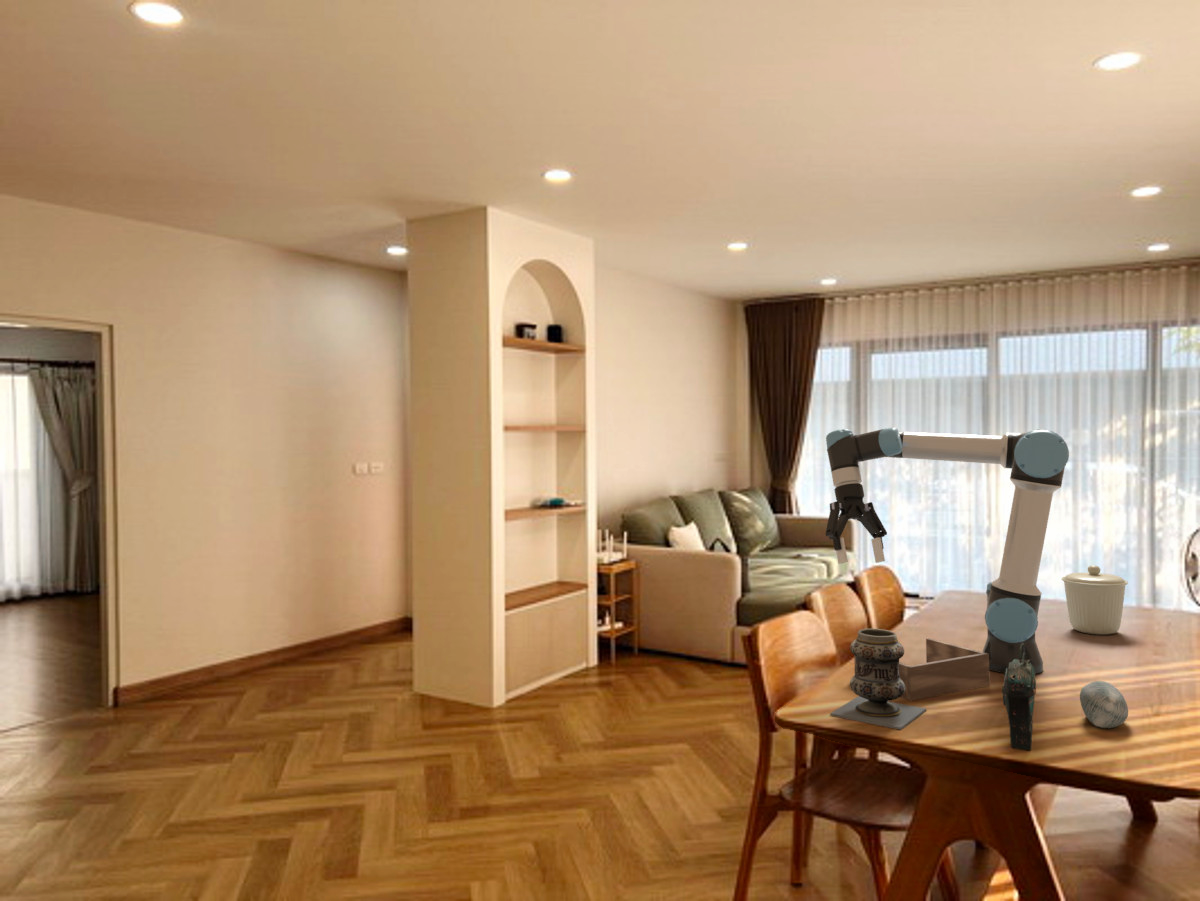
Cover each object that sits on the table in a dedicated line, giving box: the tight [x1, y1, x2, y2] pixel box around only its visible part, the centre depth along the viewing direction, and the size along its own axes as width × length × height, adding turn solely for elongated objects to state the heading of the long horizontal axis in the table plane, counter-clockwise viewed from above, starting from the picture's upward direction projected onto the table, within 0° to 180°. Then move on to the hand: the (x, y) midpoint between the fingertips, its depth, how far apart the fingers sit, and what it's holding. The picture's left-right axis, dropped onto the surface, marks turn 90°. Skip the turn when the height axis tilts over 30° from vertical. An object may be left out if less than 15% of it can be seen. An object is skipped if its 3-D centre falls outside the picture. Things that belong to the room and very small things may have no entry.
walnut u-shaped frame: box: [853, 637, 990, 702], centre depth 212 cm, size 19×26×8 cm
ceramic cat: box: [1001, 643, 1037, 752], centre depth 173 cm, size 20×6×20 cm, turn 151°
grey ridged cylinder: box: [1079, 680, 1129, 729], centre depth 181 cm, size 14×10×10 cm
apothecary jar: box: [849, 628, 905, 717], centre depth 190 cm, size 12×12×18 cm
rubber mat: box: [830, 695, 927, 730], centre depth 190 cm, size 16×16×1 cm
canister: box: [1061, 564, 1129, 636], centre depth 265 cm, size 18×18×21 cm
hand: (862, 562), depth 222 cm, fingers open, 13 cm apart
